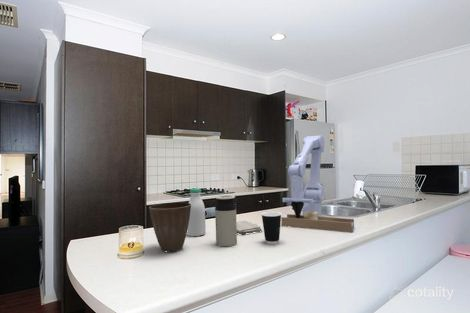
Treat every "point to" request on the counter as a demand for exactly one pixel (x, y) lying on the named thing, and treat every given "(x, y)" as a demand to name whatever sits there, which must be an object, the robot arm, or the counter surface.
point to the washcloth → (247, 227)
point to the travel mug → (225, 221)
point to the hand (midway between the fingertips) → (298, 217)
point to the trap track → (319, 223)
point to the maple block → (311, 215)
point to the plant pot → (170, 224)
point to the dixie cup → (271, 226)
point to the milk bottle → (196, 214)
